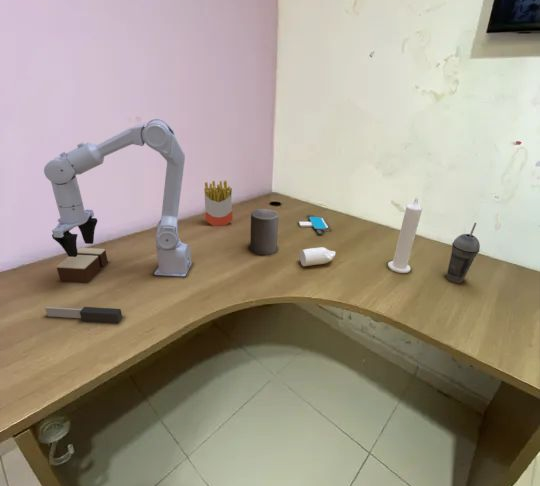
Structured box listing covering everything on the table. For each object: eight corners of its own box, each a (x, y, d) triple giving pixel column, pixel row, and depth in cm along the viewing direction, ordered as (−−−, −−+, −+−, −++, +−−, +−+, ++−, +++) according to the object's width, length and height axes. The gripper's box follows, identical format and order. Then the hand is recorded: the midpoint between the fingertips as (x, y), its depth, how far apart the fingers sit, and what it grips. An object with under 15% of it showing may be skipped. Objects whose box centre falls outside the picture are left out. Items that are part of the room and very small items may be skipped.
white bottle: (338, 265, 103) (340, 251, 101) (304, 269, 100) (306, 254, 98) (330, 257, 108) (332, 242, 106) (298, 260, 105) (299, 245, 103)
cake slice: (108, 262, 99) (105, 249, 97) (103, 267, 96) (100, 253, 94) (83, 261, 99) (80, 247, 97) (77, 266, 96) (74, 252, 94)
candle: (410, 265, 105) (429, 195, 95) (409, 275, 99) (429, 202, 89) (388, 260, 108) (405, 191, 97) (386, 270, 102) (403, 198, 91)
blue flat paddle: (296, 216, 142) (296, 212, 141) (321, 216, 143) (321, 212, 142) (303, 235, 124) (304, 231, 123) (332, 235, 125) (333, 231, 124)
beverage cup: (464, 275, 101) (485, 219, 92) (469, 287, 95) (492, 228, 86) (440, 270, 103) (458, 215, 94) (443, 282, 97) (463, 224, 88)
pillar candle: (245, 251, 109) (245, 212, 103) (256, 240, 118) (257, 203, 111) (271, 257, 106) (273, 217, 100) (280, 245, 114) (283, 207, 108)
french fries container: (232, 225, 129) (232, 183, 122) (206, 226, 127) (204, 184, 120) (231, 221, 133) (231, 180, 126) (206, 221, 131) (204, 180, 124)
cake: (101, 269, 95) (97, 255, 93) (88, 282, 89) (84, 268, 87) (75, 268, 95) (71, 254, 93) (60, 281, 89) (56, 266, 87)
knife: (122, 317, 76) (120, 308, 75) (118, 323, 75) (116, 314, 73) (51, 313, 77) (48, 304, 76) (45, 318, 75) (42, 309, 74)
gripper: (72, 194, 88) (83, 237, 94) (34, 213, 75) (49, 261, 81) (96, 195, 88) (105, 238, 93) (63, 214, 75) (76, 263, 80)
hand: (81, 249), depth 87 cm, fingers open, 7 cm apart
